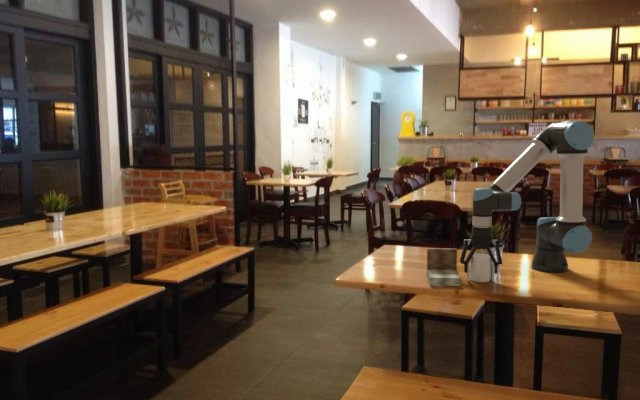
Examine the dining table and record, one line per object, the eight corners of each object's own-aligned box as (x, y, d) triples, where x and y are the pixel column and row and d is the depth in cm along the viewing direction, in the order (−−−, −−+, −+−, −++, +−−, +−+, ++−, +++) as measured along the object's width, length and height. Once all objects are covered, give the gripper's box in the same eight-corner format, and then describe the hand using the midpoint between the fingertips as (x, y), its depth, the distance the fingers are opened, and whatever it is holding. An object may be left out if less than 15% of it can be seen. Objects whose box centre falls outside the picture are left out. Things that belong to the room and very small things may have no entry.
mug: (487, 285, 224) (487, 260, 223) (466, 283, 228) (466, 258, 226) (492, 278, 234) (493, 254, 233) (472, 276, 238) (473, 252, 237)
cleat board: (455, 276, 239) (456, 248, 237) (460, 286, 223) (461, 256, 221) (426, 275, 240) (427, 248, 239) (429, 286, 224) (430, 256, 223)
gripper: (507, 225, 231) (505, 279, 233) (453, 224, 233) (451, 277, 236) (511, 228, 223) (509, 283, 226) (455, 227, 226) (454, 282, 228)
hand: (480, 280), depth 231 cm, fingers open, 9 cm apart
